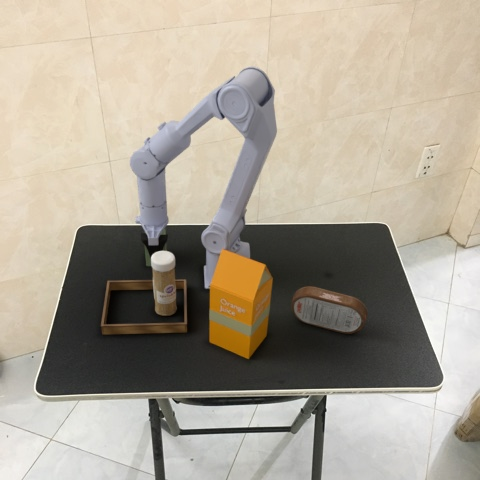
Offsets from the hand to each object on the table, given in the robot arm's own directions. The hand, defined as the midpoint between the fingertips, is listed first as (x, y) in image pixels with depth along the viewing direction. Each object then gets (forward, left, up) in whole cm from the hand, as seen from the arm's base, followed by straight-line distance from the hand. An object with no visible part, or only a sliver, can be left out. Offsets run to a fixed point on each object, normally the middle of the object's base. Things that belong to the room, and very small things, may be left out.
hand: (156, 253), depth 124 cm
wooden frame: (+2, +17, -2) cm, 17 cm away
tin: (-35, +23, -2) cm, 42 cm away
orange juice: (-17, +26, -2) cm, 31 cm away
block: (0, 0, -2) cm, 2 cm away
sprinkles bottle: (-2, +17, -2) cm, 17 cm away
